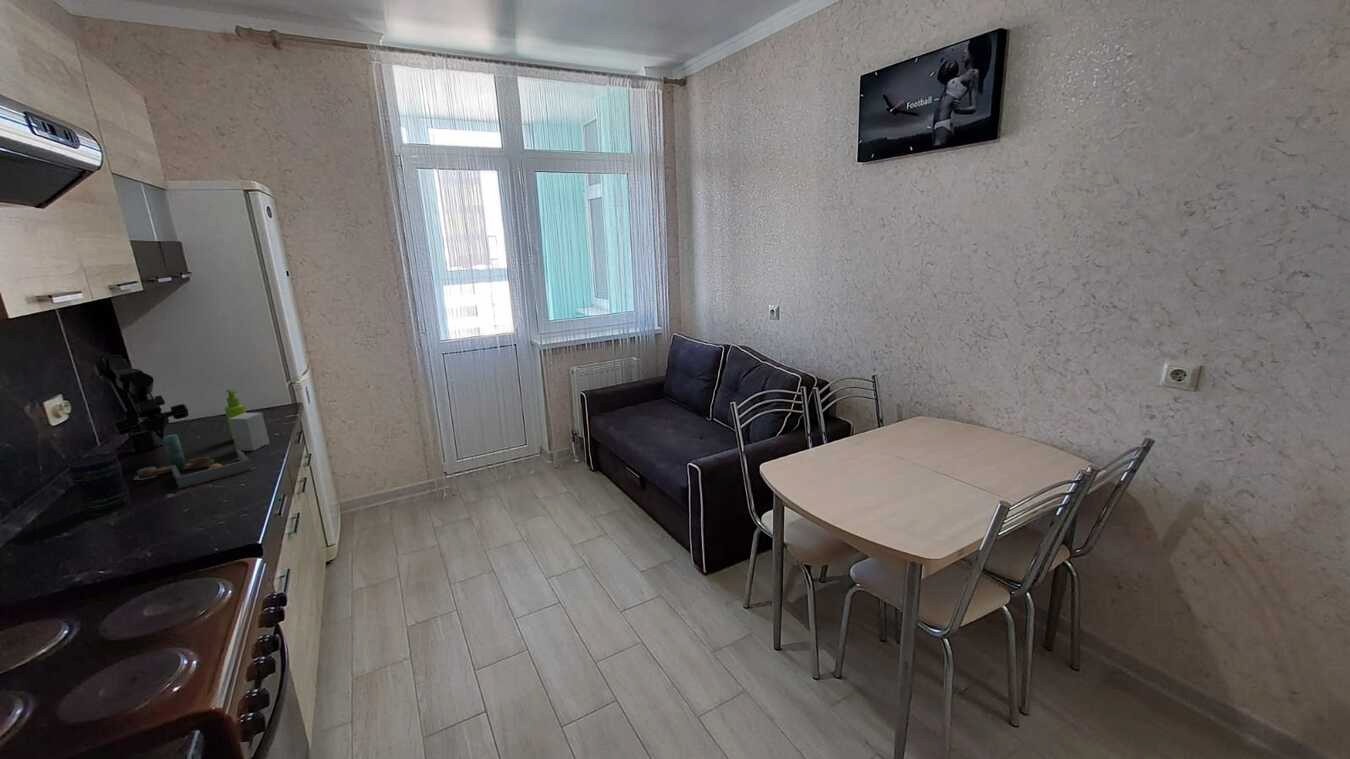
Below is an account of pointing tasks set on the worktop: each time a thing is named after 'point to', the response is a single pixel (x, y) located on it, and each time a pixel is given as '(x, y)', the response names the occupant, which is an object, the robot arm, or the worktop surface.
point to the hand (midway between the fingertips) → (163, 438)
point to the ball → (214, 466)
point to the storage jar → (100, 483)
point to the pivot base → (146, 477)
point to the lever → (175, 459)
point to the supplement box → (249, 431)
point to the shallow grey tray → (212, 472)
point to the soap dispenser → (233, 406)
